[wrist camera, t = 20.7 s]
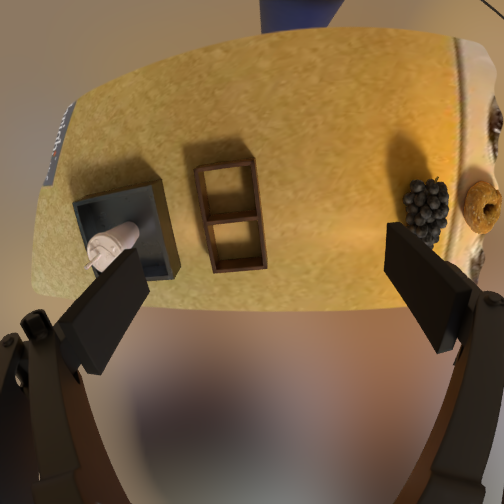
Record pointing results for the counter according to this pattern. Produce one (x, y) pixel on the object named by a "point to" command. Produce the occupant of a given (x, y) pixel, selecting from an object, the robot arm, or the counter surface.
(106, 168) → the counter surface
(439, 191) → the fruit
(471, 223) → the bagel
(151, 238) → the dark grey square tray
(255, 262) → the wooden divided frame
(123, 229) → the smoothie
